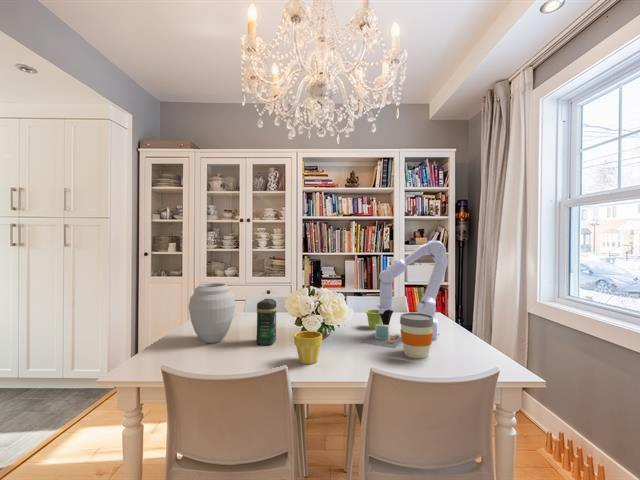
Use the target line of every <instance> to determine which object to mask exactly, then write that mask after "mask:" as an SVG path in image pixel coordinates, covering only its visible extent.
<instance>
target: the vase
mask: <svg viewBox="0 0 640 480" xmlns="http://www.w3.org/2000/svg"><path fill="white" fill-rule="evenodd" d="M230 289H231V287H229V286H228V285H226V284H224V283H212V282H211V283H204V284H199V285H198V286H196V287H195V288H194V290H193V291H194V293H193V294H192V295H191V296H190V297H189V301H188V302H189V303H188V311H189V317H190V318H189V319H190V322H191V325H192V328H193V330H194V332H195V334H196V335H197V337H198V339H199V340H200V341H201V342H202V343H205V344H216V343H219V342H221V341H223V339H224V338H225V337H226V336H227V333H228V332H229V330H230V328H231V325H232V322H233V319H234V316H235V315H234V314H235V308H236V301H235V296H234V294H233V293H232V292H231V290H230Z"/></svg>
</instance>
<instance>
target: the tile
mask: <svg viewBox="0 0 640 480" xmlns="http://www.w3.org/2000/svg"><path fill="white" fill-rule="evenodd" d="M375 333H376V338H379V339H385V340H389V339H390V335H391V325H390V324H389V325H383V323H382V324H376V330H375Z"/></svg>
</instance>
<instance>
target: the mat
mask: <svg viewBox="0 0 640 480" xmlns="http://www.w3.org/2000/svg"><path fill="white" fill-rule="evenodd" d="M393 336H394V335H393V334H392V335H391V334H390V339H389V340H391V338H392V337H393ZM387 341H388V340H385V339H379V338H376V332H373V333H372V334H370V335H368V336H367V337H366V338H364V339H363V340H362V341H360V344H364V345H365V344H367V345H373V346H376V347H377V346H378V347H383V348H391V349H395V348H396V347H398V345H400V344H401V343H403V342H402V338H401V336H399V338H397V339H396V340H395V341H396V342H395V343H394V344H389V343H386V342H387Z"/></svg>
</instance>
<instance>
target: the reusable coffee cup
mask: <svg viewBox="0 0 640 480" xmlns="http://www.w3.org/2000/svg"><path fill="white" fill-rule="evenodd" d="M399 324H400V327H401V329H400V337H401V338H402V342H401V343H402V344H403V352H404V355H405V356H406V357H409V358H413V359H425V358H428V357H429V356H430V355H429V354H430V349H431V348H430V347H431V345H432V342H433V341H432V336H433V332H432V327H433V325H434V323H433V317H432V316H430V315H427V314H422V313H418V312H405V313H402V314H400V318H399Z"/></svg>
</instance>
